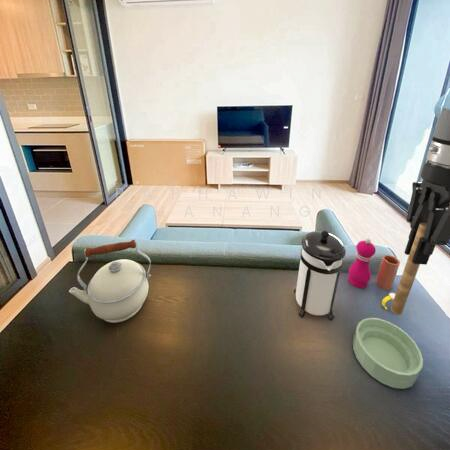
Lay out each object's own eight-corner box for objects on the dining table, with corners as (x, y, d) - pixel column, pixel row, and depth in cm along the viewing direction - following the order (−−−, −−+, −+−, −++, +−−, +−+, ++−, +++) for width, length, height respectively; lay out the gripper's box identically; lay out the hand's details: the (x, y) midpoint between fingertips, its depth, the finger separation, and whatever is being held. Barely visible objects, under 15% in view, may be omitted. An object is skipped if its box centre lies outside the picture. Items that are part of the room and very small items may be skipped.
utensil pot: (383, 279, 95) (391, 254, 91) (395, 289, 91) (403, 263, 86) (372, 281, 94) (379, 256, 90) (383, 291, 90) (391, 265, 85)
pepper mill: (350, 288, 91) (360, 244, 84) (344, 274, 98) (354, 232, 90) (371, 291, 90) (383, 246, 83) (363, 276, 96) (375, 234, 89)
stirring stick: (396, 306, 65) (425, 221, 55) (404, 314, 63) (436, 227, 53) (388, 307, 64) (417, 223, 55) (396, 315, 62) (427, 229, 53)
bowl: (383, 327, 77) (388, 313, 75) (431, 382, 63) (438, 367, 61) (341, 337, 74) (344, 323, 72) (380, 397, 60) (386, 381, 58)
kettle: (153, 277, 96) (146, 223, 87) (156, 318, 79) (148, 256, 70) (82, 294, 88) (66, 236, 79) (69, 342, 72) (48, 276, 63)
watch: (396, 306, 84) (401, 293, 82) (401, 313, 81) (406, 299, 79) (379, 305, 84) (383, 292, 82) (383, 312, 82) (387, 299, 80)
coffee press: (346, 308, 83) (365, 234, 72) (317, 333, 75) (333, 254, 64) (305, 276, 96) (315, 209, 86) (276, 295, 88) (283, 223, 77)
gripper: (406, 152, 57) (382, 237, 65) (458, 177, 42) (418, 282, 51) (441, 153, 56) (412, 239, 64) (506, 179, 41) (457, 285, 50)
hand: (415, 258), depth 57 cm, fingers closed on stirring stick, 2 cm apart
